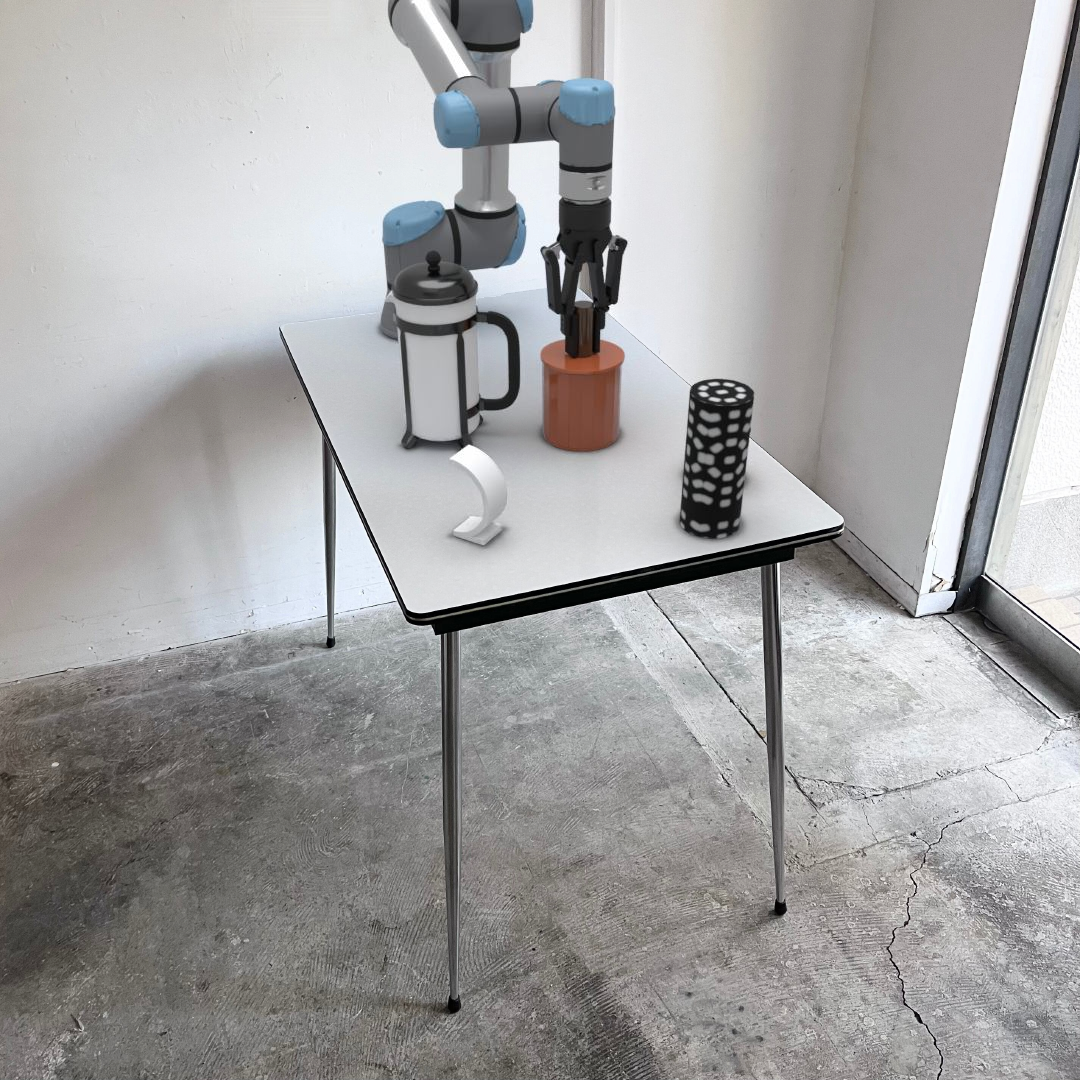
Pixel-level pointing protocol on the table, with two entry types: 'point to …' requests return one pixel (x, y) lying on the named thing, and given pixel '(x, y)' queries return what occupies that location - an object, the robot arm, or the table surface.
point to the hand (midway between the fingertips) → (582, 351)
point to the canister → (581, 409)
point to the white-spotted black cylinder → (715, 457)
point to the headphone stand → (482, 494)
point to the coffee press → (445, 351)
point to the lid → (583, 348)
